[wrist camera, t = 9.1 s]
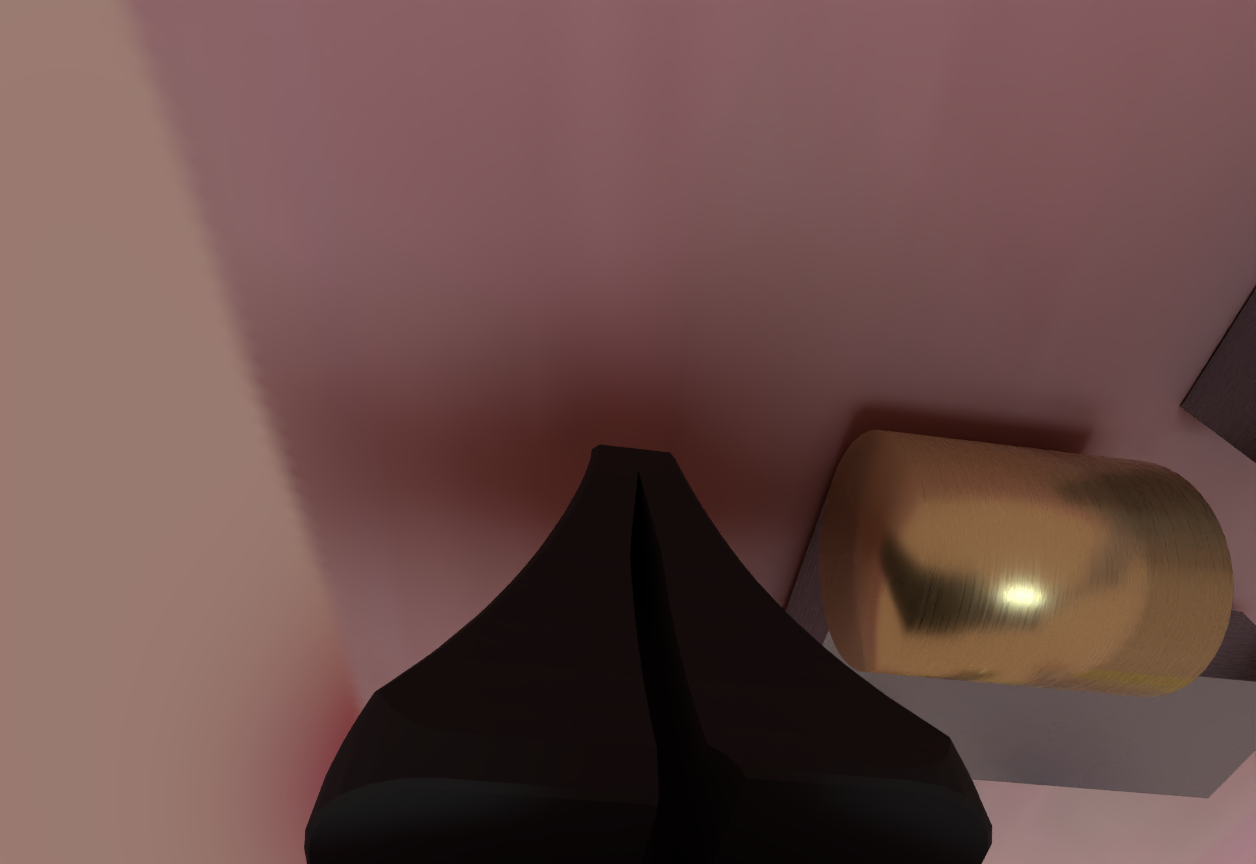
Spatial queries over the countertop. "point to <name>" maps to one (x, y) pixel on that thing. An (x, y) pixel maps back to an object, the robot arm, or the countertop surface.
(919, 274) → the countertop surface
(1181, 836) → the countertop surface
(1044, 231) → the countertop surface
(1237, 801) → the countertop surface
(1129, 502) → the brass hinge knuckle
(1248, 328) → the fixed leaf
